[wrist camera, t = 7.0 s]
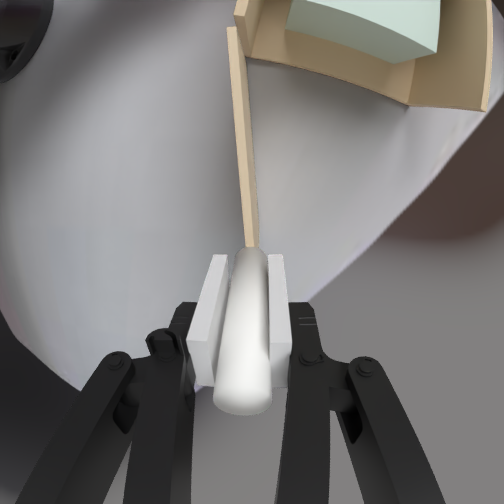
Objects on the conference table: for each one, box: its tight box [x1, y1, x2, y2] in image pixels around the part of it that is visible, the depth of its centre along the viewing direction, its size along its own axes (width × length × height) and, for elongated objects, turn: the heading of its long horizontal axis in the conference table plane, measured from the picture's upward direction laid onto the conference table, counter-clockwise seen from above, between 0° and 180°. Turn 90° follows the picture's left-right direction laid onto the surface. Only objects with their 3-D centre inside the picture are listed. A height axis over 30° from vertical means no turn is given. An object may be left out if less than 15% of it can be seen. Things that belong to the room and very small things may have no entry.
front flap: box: [213, 26, 272, 416], centre depth 16 cm, size 17×2×22 cm, turn 4°
